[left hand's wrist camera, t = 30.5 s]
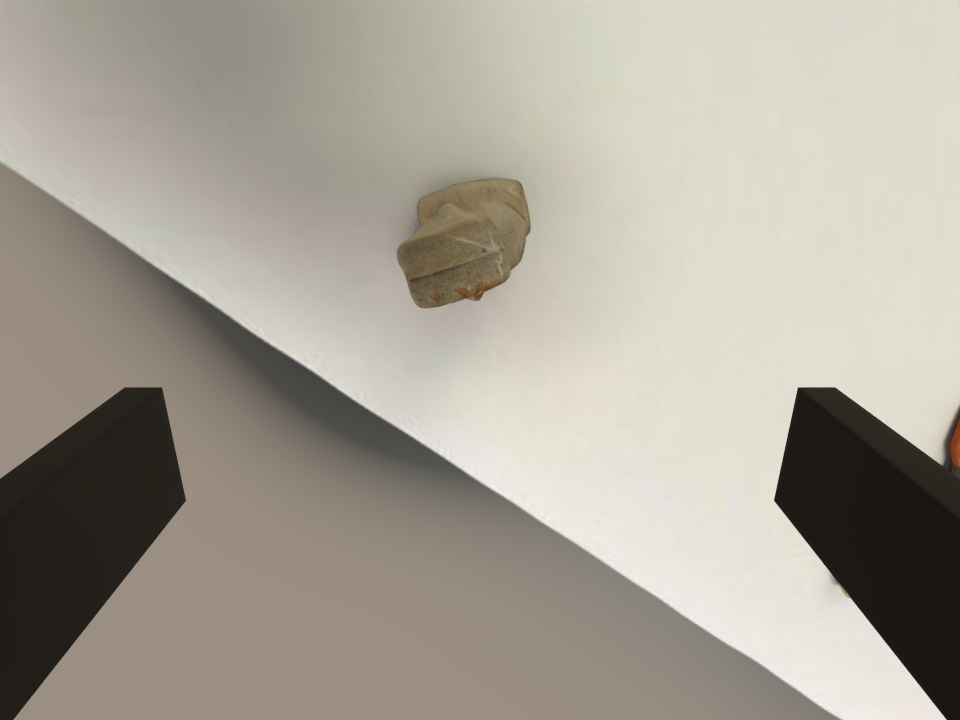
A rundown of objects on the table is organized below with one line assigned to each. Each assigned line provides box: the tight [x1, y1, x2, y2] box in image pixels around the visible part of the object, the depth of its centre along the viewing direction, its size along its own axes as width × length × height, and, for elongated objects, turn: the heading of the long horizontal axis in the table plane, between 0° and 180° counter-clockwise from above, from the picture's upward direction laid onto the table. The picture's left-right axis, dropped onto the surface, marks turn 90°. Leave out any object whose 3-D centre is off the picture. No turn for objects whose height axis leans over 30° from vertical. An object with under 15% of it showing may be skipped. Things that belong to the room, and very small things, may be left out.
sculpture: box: [397, 178, 531, 308], centre depth 34 cm, size 6×7×15 cm
